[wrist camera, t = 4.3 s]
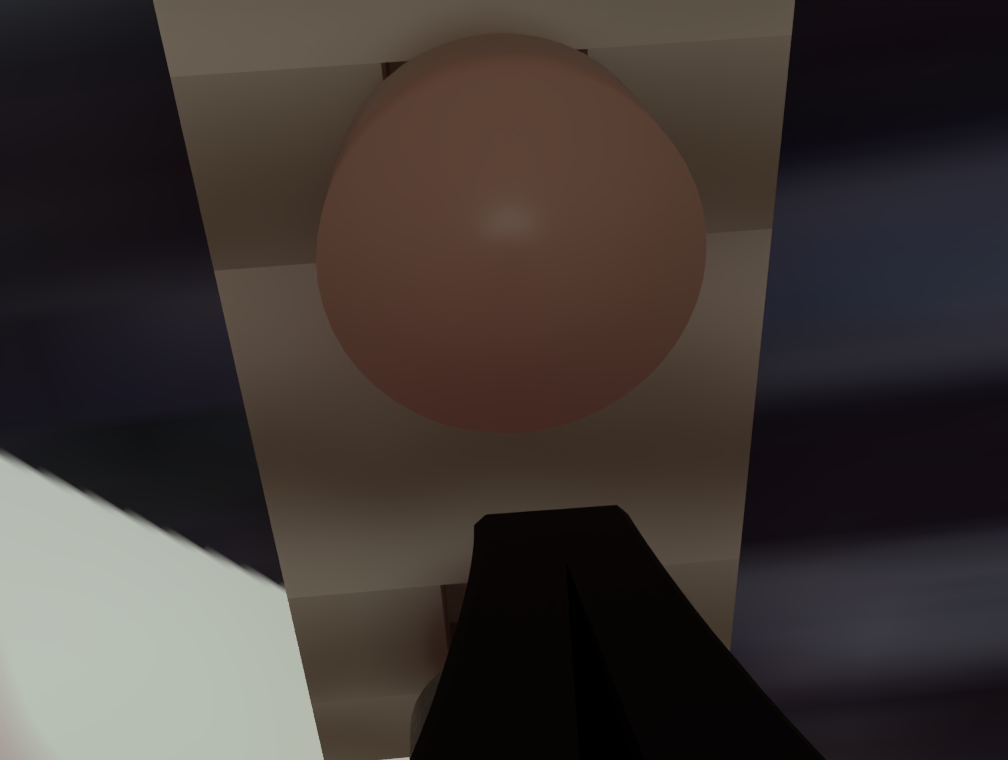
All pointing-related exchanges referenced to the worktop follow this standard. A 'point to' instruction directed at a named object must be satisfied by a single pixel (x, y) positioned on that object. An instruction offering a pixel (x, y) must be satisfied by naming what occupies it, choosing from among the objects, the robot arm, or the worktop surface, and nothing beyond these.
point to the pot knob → (508, 236)
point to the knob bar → (412, 437)
